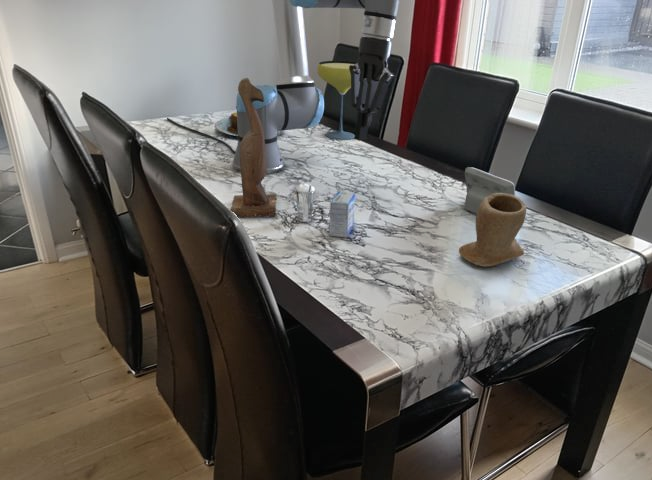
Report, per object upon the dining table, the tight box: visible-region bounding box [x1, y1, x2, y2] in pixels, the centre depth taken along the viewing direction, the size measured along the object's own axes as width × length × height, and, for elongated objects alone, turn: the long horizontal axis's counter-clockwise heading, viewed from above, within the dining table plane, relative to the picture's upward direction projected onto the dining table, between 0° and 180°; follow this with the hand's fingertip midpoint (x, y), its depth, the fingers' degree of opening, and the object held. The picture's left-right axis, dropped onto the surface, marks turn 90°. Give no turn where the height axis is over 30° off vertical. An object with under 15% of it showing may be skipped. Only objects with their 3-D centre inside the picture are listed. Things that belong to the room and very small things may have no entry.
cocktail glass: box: [317, 60, 358, 141], centre depth 208 cm, size 18×18×25 cm
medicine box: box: [329, 190, 356, 239], centre depth 136 cm, size 8×4×9 cm, turn 168°
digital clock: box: [463, 166, 516, 215], centre depth 152 cm, size 16×9×11 cm, turn 26°
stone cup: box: [458, 193, 527, 268], centre depth 125 cm, size 15×12×15 cm
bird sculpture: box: [230, 77, 278, 219], centre depth 139 cm, size 11×12×32 cm
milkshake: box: [295, 183, 316, 223], centre depth 140 cm, size 4×5×10 cm
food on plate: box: [214, 112, 282, 137], centre depth 211 cm, size 25×25×7 cm
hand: (360, 139), depth 145 cm, fingers closed
